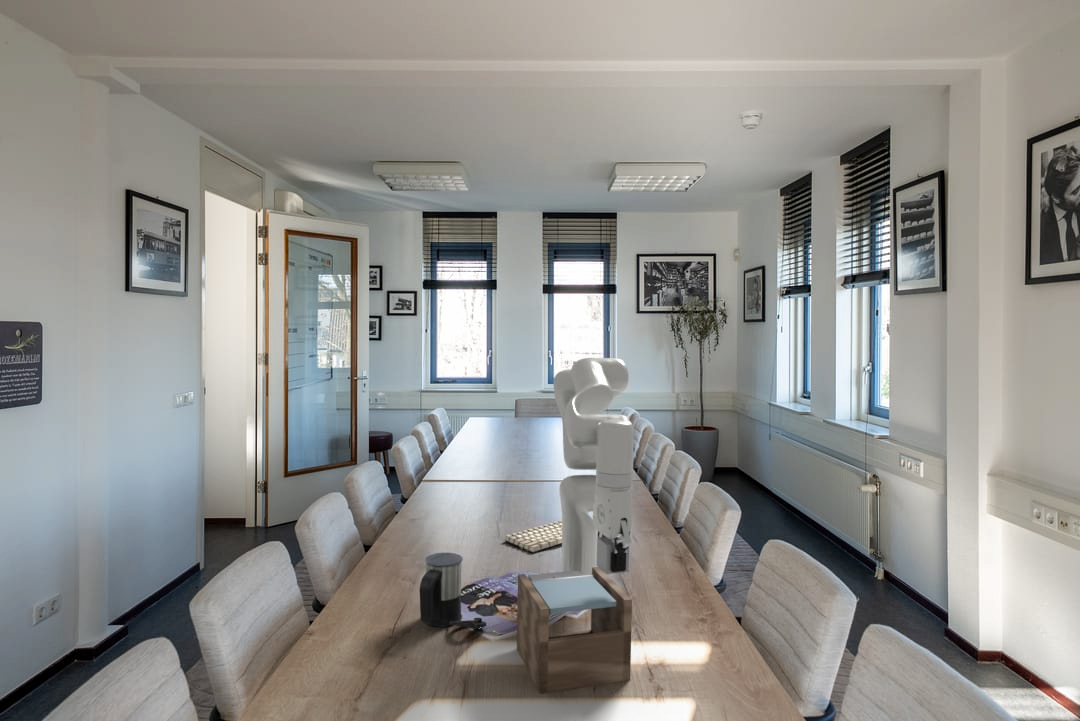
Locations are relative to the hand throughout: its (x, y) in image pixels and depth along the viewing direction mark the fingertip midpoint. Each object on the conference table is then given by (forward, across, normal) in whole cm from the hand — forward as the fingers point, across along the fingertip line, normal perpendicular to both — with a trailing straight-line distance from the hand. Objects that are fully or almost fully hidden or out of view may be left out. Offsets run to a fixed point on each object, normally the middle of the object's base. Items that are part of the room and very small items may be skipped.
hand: (612, 565), depth 131 cm
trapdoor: (+12, -6, -8) cm, 15 cm away
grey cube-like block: (+1, 0, 0) cm, 1 cm away
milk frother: (+22, -28, -28) cm, 45 cm away
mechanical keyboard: (+22, -82, +18) cm, 86 cm away
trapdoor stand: (+21, -3, -8) cm, 23 cm away
